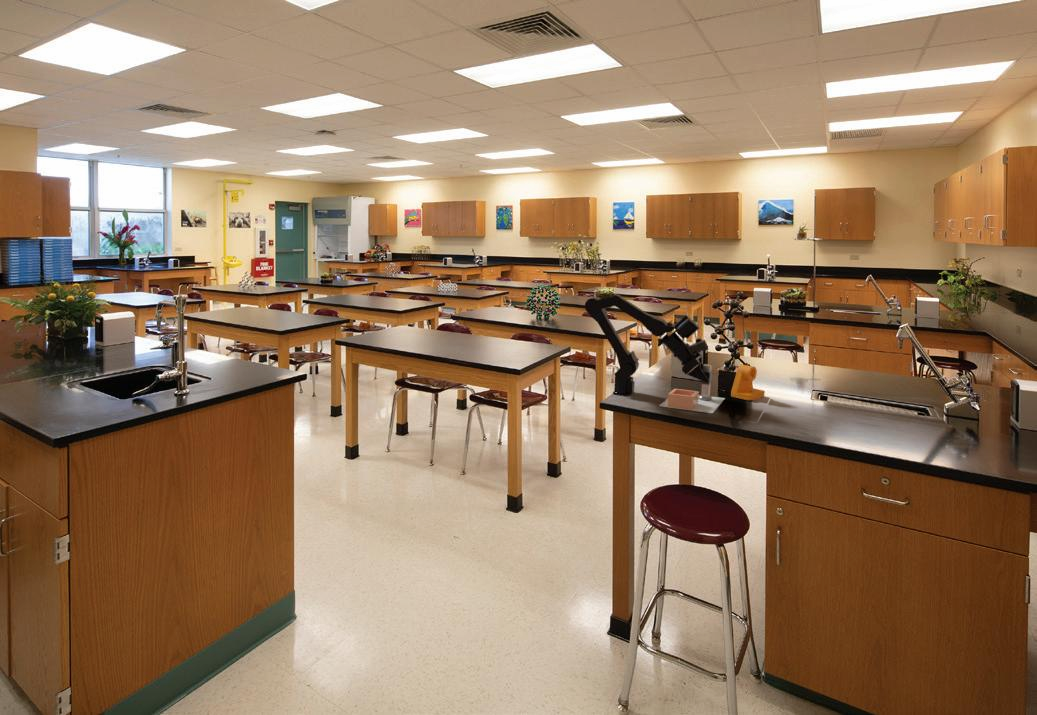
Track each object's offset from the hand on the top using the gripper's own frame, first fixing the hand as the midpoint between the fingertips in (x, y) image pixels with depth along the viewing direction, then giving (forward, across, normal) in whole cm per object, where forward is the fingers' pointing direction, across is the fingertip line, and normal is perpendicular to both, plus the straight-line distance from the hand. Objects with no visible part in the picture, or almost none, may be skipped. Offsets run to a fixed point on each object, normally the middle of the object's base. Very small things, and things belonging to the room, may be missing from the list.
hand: (708, 379), depth 211 cm
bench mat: (+2, -5, +9) cm, 11 cm away
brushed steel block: (+5, 0, +6) cm, 7 cm away
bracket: (+16, +9, -4) cm, 18 cm away
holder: (0, -11, +11) cm, 15 cm away
